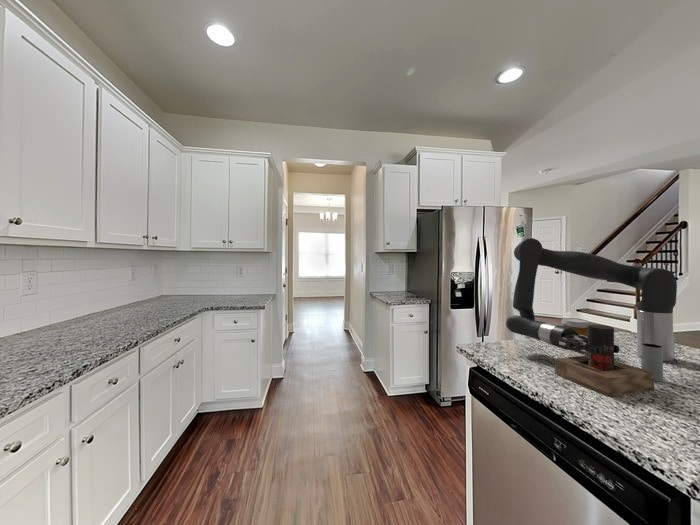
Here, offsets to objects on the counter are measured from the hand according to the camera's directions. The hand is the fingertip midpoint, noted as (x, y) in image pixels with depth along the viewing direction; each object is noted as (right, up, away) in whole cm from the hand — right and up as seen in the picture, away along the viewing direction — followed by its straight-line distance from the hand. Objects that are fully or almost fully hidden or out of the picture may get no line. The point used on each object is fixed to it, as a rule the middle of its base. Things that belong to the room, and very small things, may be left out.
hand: (609, 350), depth 84 cm
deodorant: (0, -9, +3) cm, 9 cm away
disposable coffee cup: (+17, -10, +34) cm, 39 cm away
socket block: (0, -10, +2) cm, 10 cm away
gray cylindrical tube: (+17, -10, +4) cm, 20 cm away
